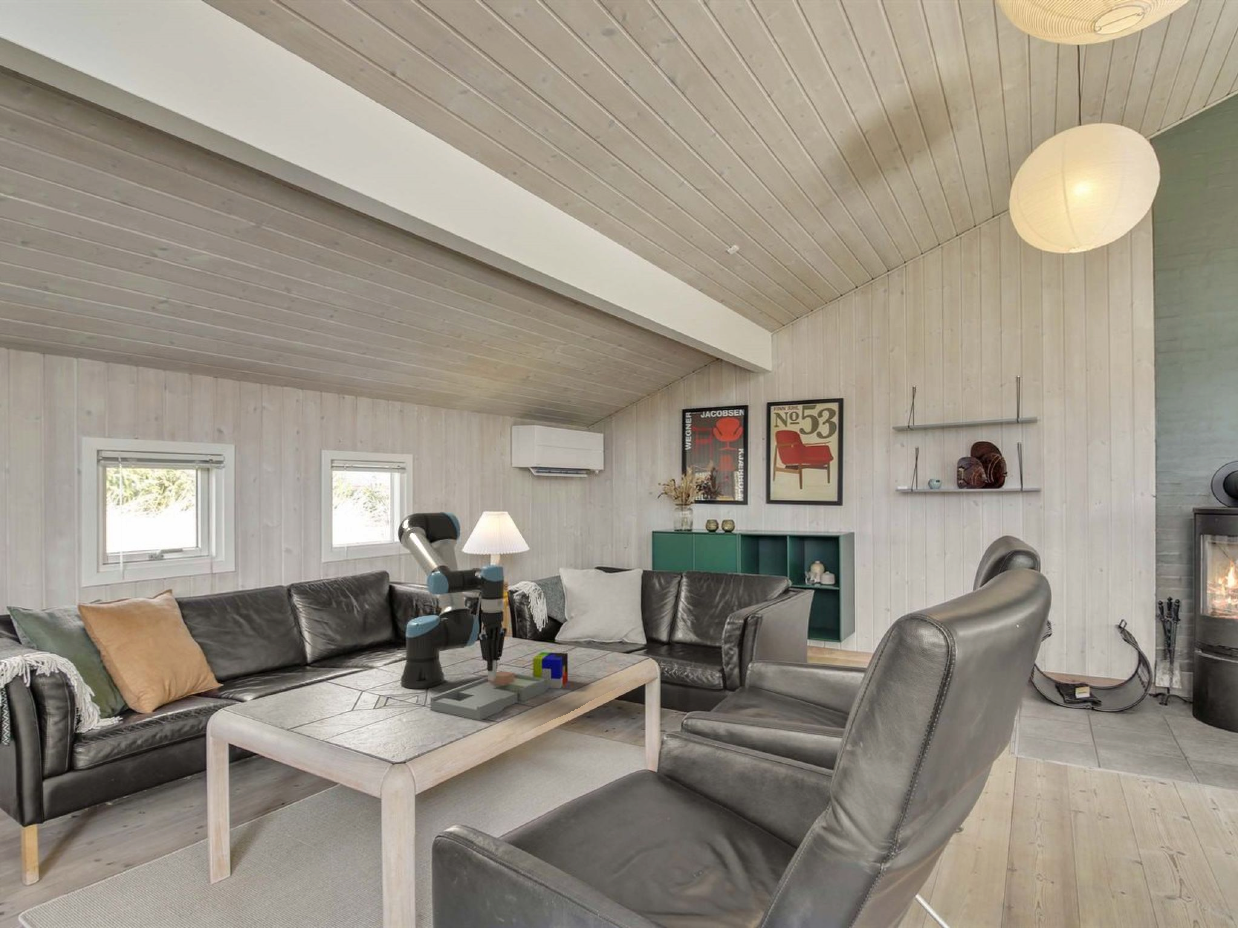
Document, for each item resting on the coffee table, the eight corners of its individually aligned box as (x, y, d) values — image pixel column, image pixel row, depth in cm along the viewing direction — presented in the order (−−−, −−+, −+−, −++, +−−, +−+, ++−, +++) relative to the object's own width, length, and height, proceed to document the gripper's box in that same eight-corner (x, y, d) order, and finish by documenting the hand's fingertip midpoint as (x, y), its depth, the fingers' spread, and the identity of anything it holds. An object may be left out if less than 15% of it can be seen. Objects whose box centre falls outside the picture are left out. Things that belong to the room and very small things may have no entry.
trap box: (430, 709, 221) (430, 697, 221) (501, 682, 252) (501, 671, 252) (479, 720, 211) (479, 707, 211) (547, 690, 242) (547, 679, 242)
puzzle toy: (559, 688, 245) (559, 659, 245) (532, 686, 247) (532, 658, 247) (567, 680, 254) (567, 653, 255) (541, 679, 256) (541, 652, 257)
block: (489, 683, 240) (489, 674, 240) (501, 679, 245) (501, 670, 245) (503, 685, 237) (503, 677, 237) (514, 681, 242) (514, 672, 242)
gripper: (488, 614, 232) (488, 685, 231) (513, 608, 243) (512, 676, 242) (471, 612, 236) (470, 682, 235) (496, 606, 247) (496, 673, 246)
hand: (492, 679), depth 239 cm, fingers closed
